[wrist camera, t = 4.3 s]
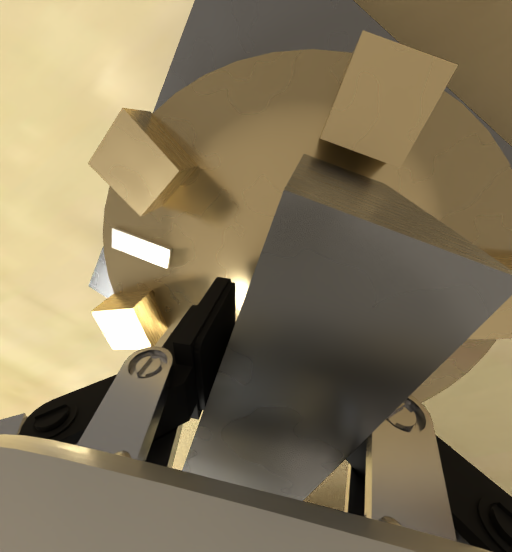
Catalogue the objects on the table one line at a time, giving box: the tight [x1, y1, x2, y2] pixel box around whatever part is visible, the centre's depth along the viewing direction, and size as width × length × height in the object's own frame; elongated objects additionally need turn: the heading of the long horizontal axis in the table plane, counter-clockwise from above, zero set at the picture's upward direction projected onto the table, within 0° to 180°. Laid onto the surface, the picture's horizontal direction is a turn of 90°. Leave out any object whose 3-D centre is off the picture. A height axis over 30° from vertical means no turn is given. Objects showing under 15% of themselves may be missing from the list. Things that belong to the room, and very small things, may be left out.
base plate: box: [89, 0, 512, 298], centre depth 16 cm, size 20×20×2 cm
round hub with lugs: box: [88, 30, 512, 501], centre depth 10 cm, size 18×18×10 cm
